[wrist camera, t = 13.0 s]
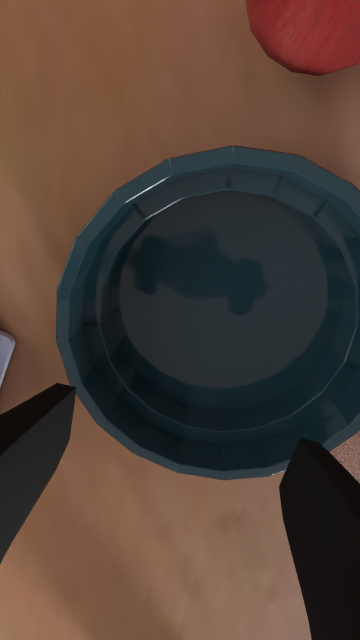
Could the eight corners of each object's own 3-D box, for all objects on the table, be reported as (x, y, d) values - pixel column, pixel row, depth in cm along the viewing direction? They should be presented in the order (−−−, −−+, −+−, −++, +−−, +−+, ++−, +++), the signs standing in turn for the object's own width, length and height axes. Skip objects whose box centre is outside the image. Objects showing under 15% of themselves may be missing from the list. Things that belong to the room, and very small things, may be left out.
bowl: (53, 361, 21) (14, 402, 17) (155, 101, 16) (137, 65, 12) (269, 459, 22) (285, 520, 18) (426, 248, 17) (499, 264, 13)
